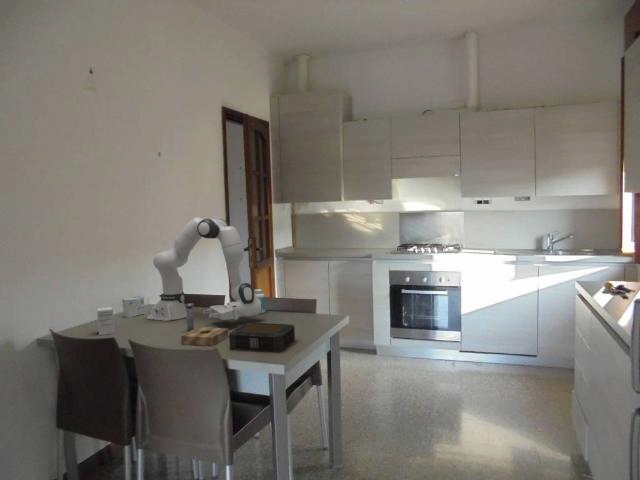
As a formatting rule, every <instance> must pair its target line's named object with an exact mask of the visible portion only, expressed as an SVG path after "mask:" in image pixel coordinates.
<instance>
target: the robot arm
mask: <svg viewBox="0 0 640 480" xmlns="http://www.w3.org/2000/svg"><path fill="white" fill-rule="evenodd" d="M201 238H204V239H217V240H219V242H220V245H221V249H222V253H223V258H224V261H225V264H226V270H227V275H228V280H229V285H230V288H229V292H228V293H229V298H230V300H231V301H230V302H227V303H226V305H222V304H218V305H217V304H216V305H211V306H209V308H208V309H204V310H203V311H202V312H203V314H204V315H208V318H210V319H211V318H218V319H219V320H221V321H222V320H223V321H224V320H225V321H227V320H228V321H229V320H234V321H235V320H238V319H240V318H241V317H242V318H243V317H244V318H247V317H253V316H256V315H258V313H259V312H260V310H261V301H260V300H259V299H258V298H257V296H256V294H255V292H254V290H255V289H254V286H253V284H251V283H248V282H243V283H242V279H241V275H240V274H241V272H240V264H241V262H242V260H243V258H244V256H245V253H244V247H243V246H244V245H243V243H242V239H241V236H240V234H239V232H238V230H237V228H236V227H235V226H231V225H229V223H228V222H227V221H226V220H225V219H222V218H205V219H203V218H201V217H199V216H198V217H194V218H192V219H191V220H189V222H188V223H186V225H185V226H184V227H183V228H182V230H181V231H180V232H179V233H178V234H177V236H175V239H174V243H173V246H172V247H170V249H167V250H163V251H160V252H159V253H157V254H156V255H155V256H154V257H153V266H154V267H155V269H157V270H158V273H159V275H160V278H161V283H162V293H160V295H158V296H159V298H160V299H159V301H158V302H157V303H155V304H154V305H153V306H152V308H151V312H150V314H149V315H148V316H147V317H146V320H153V319H154V321H161V320H162V321H163V322H164V321H165V322H168V321H173V320H180V319H184V318H187V312H186V307H185V292H184V286H183V285H184V284H183V277H182V276H180V274H179V271H178V268H182V267H183V266H185V264H186V263H187V262H188V261H189V256H190V254H191V251H192V250H193V249H194V247H195V246H197V244H198V243H199V241H200V240H201Z"/></svg>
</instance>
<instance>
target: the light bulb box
mask: <svg viewBox="0 0 640 480" xmlns="http://www.w3.org/2000/svg"><path fill="white" fill-rule="evenodd" d="M121 300H122V311H123V312H122V315H123V317H124V316H126V317H125V318H127V317H132V316H136V315H140V314H144V315H146V309H145V296H140V295H136V296H132V297H126V298H122V299H121ZM140 316H141V315H140ZM136 317H137V316H136ZM132 318H133V317H132Z"/></svg>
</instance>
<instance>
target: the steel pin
mask: <svg viewBox="0 0 640 480" xmlns="http://www.w3.org/2000/svg"><path fill="white" fill-rule="evenodd" d="M184 305H185V310H186V313H187V317H186V324H187V325H186V326H187V327H186V328H187V331H186V332H187V333H188V332H190V331H192V330H194V329H195V320H194V319H195V316H194V307H195V303H193V302H191V303H184Z"/></svg>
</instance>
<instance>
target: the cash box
mask: <svg viewBox="0 0 640 480" xmlns="http://www.w3.org/2000/svg"><path fill="white" fill-rule="evenodd" d="M295 335H296V334H295V325H294V324H290V323H289V324H288V323H287V324H286V323H271V322H270V323H269V322H268V323H267V322H265V323H264V322H246V323H244V324H242V325H241V326H240V327H237V328H236V329H233V330H232V331H230V332H228V341H229V349H230V350H233V349H241V350H240V351H250V350H254V351H253V352H266V351H268V352H269V353H281V351H282V352H283V351H284V350H285V349H286V348H287V347H289V346H290V345H292V344H293V342H295V340H296V338H295V337H296V336H295ZM268 352H267V353H268Z"/></svg>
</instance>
